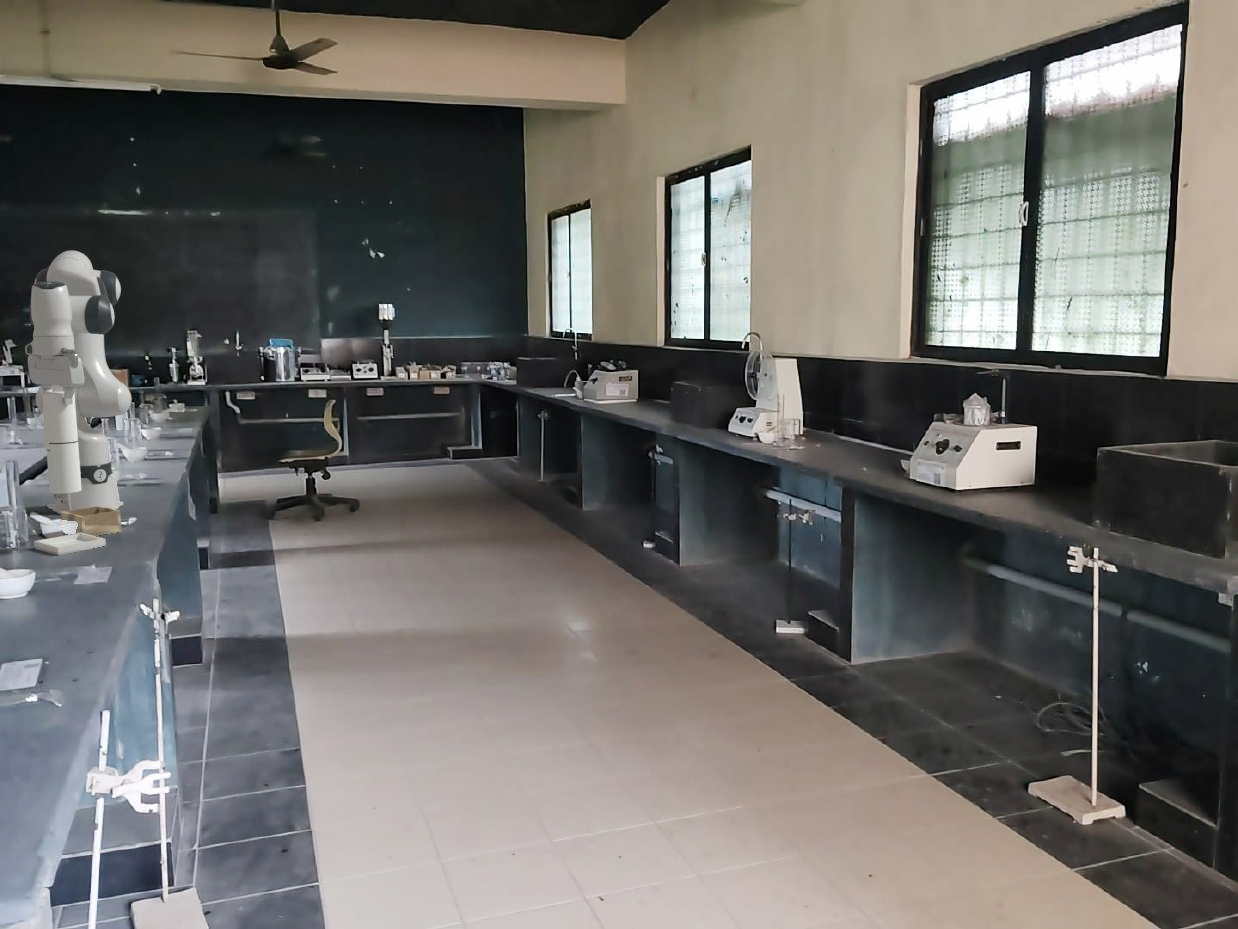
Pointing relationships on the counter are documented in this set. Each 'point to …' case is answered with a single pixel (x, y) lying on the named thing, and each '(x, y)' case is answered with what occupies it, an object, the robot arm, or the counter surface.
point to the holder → (95, 520)
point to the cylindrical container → (61, 444)
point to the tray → (69, 543)
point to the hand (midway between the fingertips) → (59, 403)
